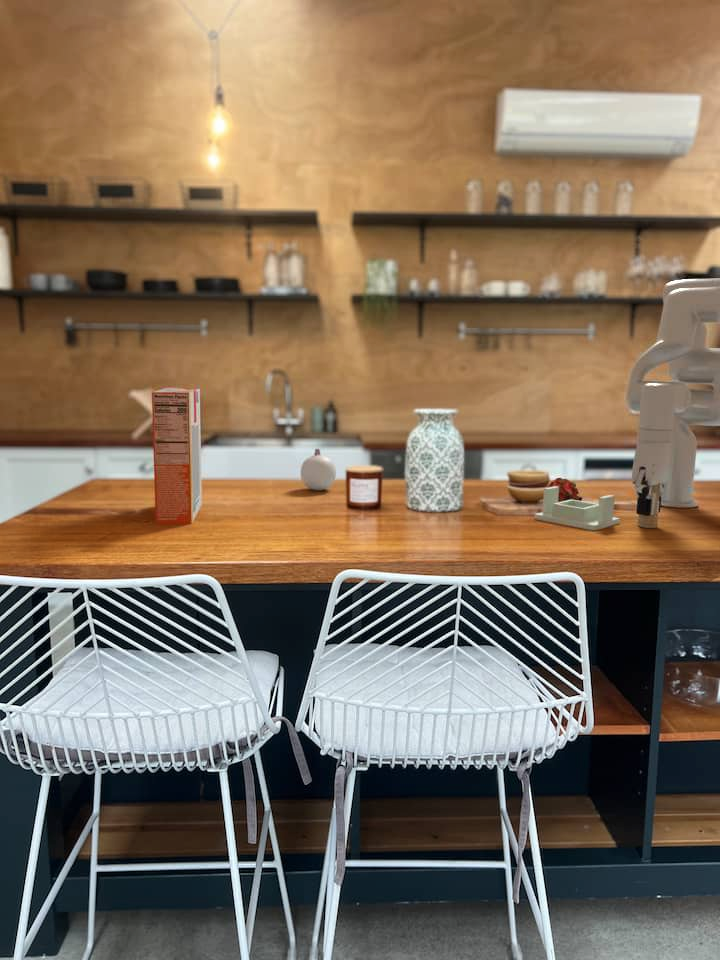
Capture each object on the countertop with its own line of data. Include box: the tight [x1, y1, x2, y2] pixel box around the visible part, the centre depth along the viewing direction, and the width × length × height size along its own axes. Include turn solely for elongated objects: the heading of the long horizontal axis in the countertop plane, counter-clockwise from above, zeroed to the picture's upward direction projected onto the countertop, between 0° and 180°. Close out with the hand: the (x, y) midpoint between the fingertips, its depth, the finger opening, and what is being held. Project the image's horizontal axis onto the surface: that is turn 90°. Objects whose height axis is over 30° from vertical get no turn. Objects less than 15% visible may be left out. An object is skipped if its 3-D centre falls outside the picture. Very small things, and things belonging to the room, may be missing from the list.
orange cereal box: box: [151, 387, 203, 525], centre depth 175 cm, size 23×8×30 cm, turn 6°
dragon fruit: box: [546, 477, 583, 502], centre depth 192 cm, size 8×8×12 cm
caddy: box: [534, 486, 620, 532], centre depth 176 cm, size 12×16×7 cm
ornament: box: [300, 448, 337, 491], centre depth 211 cm, size 10×10×12 cm
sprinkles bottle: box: [636, 477, 662, 529], centre depth 171 cm, size 5×5×13 cm
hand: (648, 512), depth 172 cm, fingers closed on sprinkles bottle, 4 cm apart
